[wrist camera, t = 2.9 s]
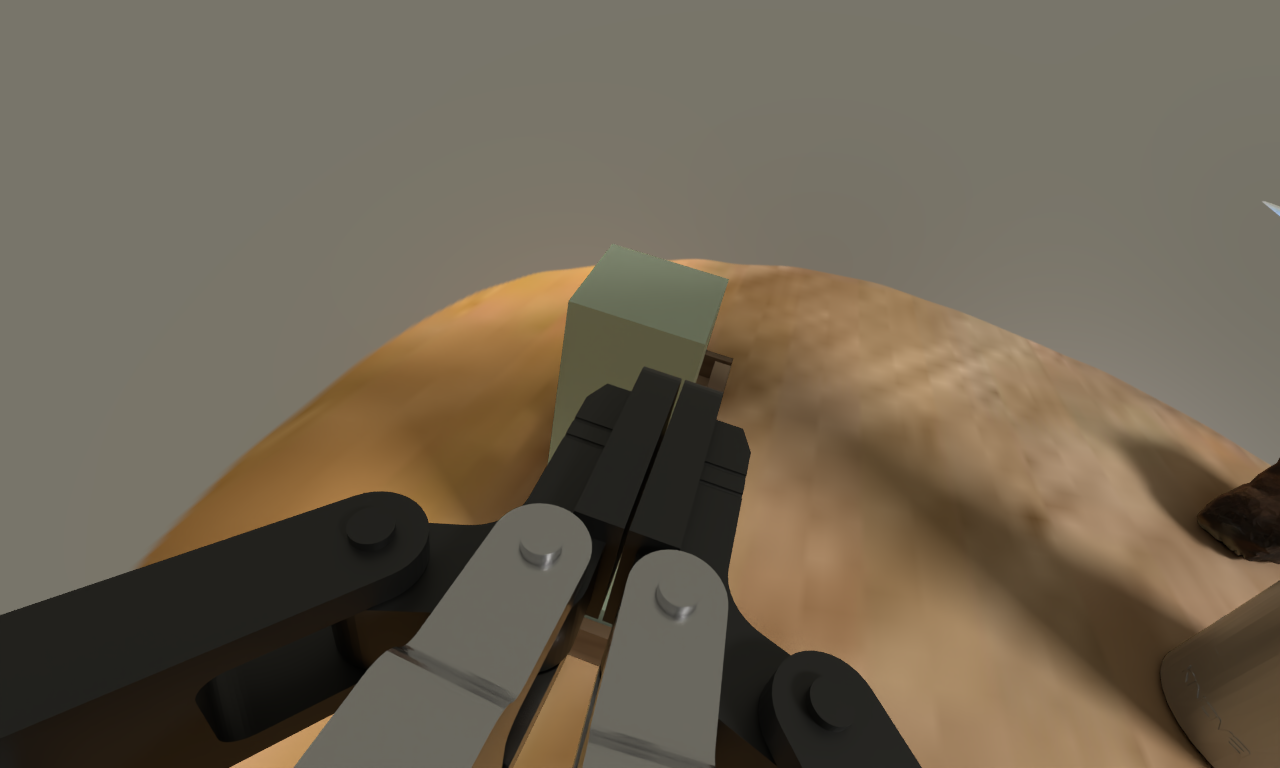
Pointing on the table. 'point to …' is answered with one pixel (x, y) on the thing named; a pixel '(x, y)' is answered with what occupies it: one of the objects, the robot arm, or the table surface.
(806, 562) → the table surface
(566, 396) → the block
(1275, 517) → the decorative rock
